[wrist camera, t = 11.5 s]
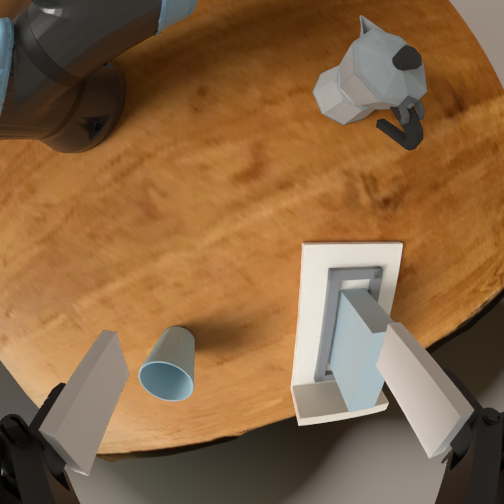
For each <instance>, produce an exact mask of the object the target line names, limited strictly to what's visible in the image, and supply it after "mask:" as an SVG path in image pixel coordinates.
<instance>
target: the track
mask: <svg viewBox="0 0 504 504" xmlns="http://www.w3.org/2000/svg"><path fill="white" fill-rule="evenodd" d="M402 247H403V243H401V242H302V260H301V278H300V293H299V307H298V320H297V331H296V342H295V353H294V363H293V372H292V381H291V393H292V397H293V402H294V407H295V411H296V416H297V421H298V425H299V426H300V425H309V424H316V423H323V422H330V421H336V420H342V419H347V418H352V417H357V416H362V415H366V414H371V413H375V412H379V411H383V410H386V408H387V406H388V403H389V402H388V400H387V399H386V397H385V395H384V393H383V392H382V390H381V391H380V394H379V396H378V399H377V401H376V404H375V406H374V407H373V408H369V409H364V410H359V411H354V412H349V411H348V408H347V406H346V404H345V401H344V399H343V396H342V394H341V391H340V389H339V386H338V384H337V382H336V379H335V377H334V374H333V372H332V370H331V367H330V365H329V357H330V352H331V346H332V341H333V335H334V329H335V323H336V316H337V309H338V302H339V295H340V290H344V289H360V288H364V289H365V290H366V291H367V292H368V293H369V294H370V295H371V296H372V297H373V298H374V300H375V301H376V302H377V303H378V304H379V305H380V306H381V307H382V308H383V309H384V311H385V312H386V313H387V314H388V315H389V316H390V313H391V308H392V304H393V299H394V294H395V289H396V284H397V279H398V273H399V267H400V261H401V254H402Z"/></svg>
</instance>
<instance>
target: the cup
mask: <svg viewBox="0 0 504 504" xmlns="http://www.w3.org/2000/svg"><path fill="white" fill-rule="evenodd" d="M194 359H195V339H194V337H193V335H192V334H191V332H189V331H188V330H187V329H185V328H182V327H178V326H174V327H170V328H168V329H166V330H165V331H164V333H163V334H162V336H161V337H160V339H159V340H158V342H157V343H156V345H155V347H154V348H153V350H152V351H151V353H150V354H149V356H148V358H147V359H146V360H145V362H144V364H143V365H142V367H141V368H140V370H139V380H140V383H141V385H142V386H143V387H144V389H145V390H146V391H147V392H149V393H150V394H152V395H153V396H155V397H157V398H160V399H162V400H167V401H180V400H184V399H186V398H188V397H189V396H190V395H191V394H192V392H193V390H194Z"/></svg>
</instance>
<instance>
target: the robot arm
mask: <svg viewBox="0 0 504 504" xmlns="http://www.w3.org/2000/svg"><path fill="white" fill-rule="evenodd" d="M31 1H32V3H31V4H30V5H29V6H28V7H27V8H26V9H25V10H24V11H23V12H22V13H20V14H19V16H17V18H15V19H14V20H13V21H11V19H9V18H0V140H2V139H38V140H40V141H41V142H43V143H44V144H46V145H47V146H49V147H50V148H52V149H53V150H55V151H58V152H62V153H80V152H84V151H87V150H89V149H91V148H93V147H95V146H96V145H98V144H99V143H100V142H101V141H102V140H104V139H105V138H106V137H107V135H108V134H109V133H110V132H111V131H112V129H113V128H114V126H115V125H116V123H117V121H118V119H119V117H120V115H121V112H122V109H123V106H124V101H125V82H124V79H123V76H122V74H121V72H120V70H119V69H118V68H117V67H116V66H115V65H114V64H112V63H111V62H110V61H111V60H112V59H114V58H115V57H117V56H119V55H120V54H122V53H123V52H125V51H127V50H128V49H130V48H132V47H133V46H135V45H137V44H139V43H140V42H142V41H144V40H146V39H148V38H149V37H151V36H153V35H154V36H156V35H158V34H160V33H161V32H162V30H164V29H165V28H167V27H169V26H171V25H173V24H175V23H177V22H179V21H181V20H183V19H185V18H186V17H188V16H189V15H190V14H191V13H192V12H193V11H194V9H195V7H196V5H197V1H198V0H31ZM376 367H377V368H378V370H379V371H380V373H381V375H382V376H383V378H384V380H385V381H386V383H387V385H388V386H389V388H390V390H391V391H392V393H393V395H394V396H395V398H396V400H397V401H398V403H399V405H400V407H401V408H402V410H403V412H404V414H405V415H406V417H407V419H408V421H409V422H410V424H411V426H412V428H413V430H414V431H415V433H416V435H417V437H418V438H419V440H420V442H421V444H422V446H423V448H424V449H425V451H426V453H427V455H428V457H429V458H432V457H434V456H436V455H438V454H440V453H442V452H444V450H445V449H446V448H447V447H448V446H449V444H450V445H451V447H452V449H451V451H450V452H449V453H448V454H447V455H446V456H445V458H444V459H443V460H442V462H441V463H444V462H445V461H446V460H447V459H448V461H447V463H446V464H447V465H446V469H445V473H444V476H443V480H442V483H441V486H440V490H439V493H438V496H437V499H436V502H435V504H504V412H502V413H499V412H498V411H497V410H495V409H493V408H484V409H483V408H482V406H481V405H480V404H479V403H478V401H477V400H476V399H475V398H474V396H473V395H472V394H471V393H470V391H469V390H468V389H467V388H465V385H464V384H463V383H462V382H460V380H459V378H458V377H457V376H456V375H455V374H454V373H453V372H451V371H450V370H448V369H447V368H444V369H441V368H440V367H439V365H438V364H437V363H436V362H435V361H434V359H433V358H432V357H431V356H430V355H429V354H428V352H427V351H426V350H425V349H424V348H423V347H422V345H421V344H420V343H419V342H418V341H417V340H416V339H415V338H414V336H413V335H412V334H411V333H410V332H409V331H408V330H407V329H406V328H405V326H404V325H403V324H402V323H401V322H396V323H389V324H388V326H387V330H386V334H385V337H384V341H383V345H382V348H381V352H380V355H379V358H378V362H377V365H376ZM128 377H129V371H128V368H127V365H126V362H125V359H124V356H123V352H122V349H121V346H120V342H119V339H118V335H117V332H116V331H106V330H103V331H102V333H101V334H100V335H99V337H98V338H97V340H96V341H95V342H94V344H93V345H92V347H91V348H90V349H89V351H88V352H87V354H86V355H85V357H84V358H83V360H82V361H81V363H80V364H79V366H78V367H77V369H76V370H75V372H74V373H73V375H72V376H71V378H70V379H69V381H68V382H67V384H65V383H60V384H59V385H57V386H56V387H55V388H53V389H52V391H51V392H50V394H49V395H48V398H47V399H46V400H45V402H44V403H43V405H42V406H41V408H40V409H39V411H38V413H37V415H36V416H35V417H34V419H33V421H32V422H31V424H30V426H29V427H28V425H27V424H26V423H25V421H24V420H23V419H22V418H21V417H20V416H19V415H16V414H9V415H7V416H5V417H4V418H2V419H1V421H0V433H1V434H0V504H80V502H79V500H78V498H77V496H76V494H75V492H74V489H73V487H72V484H71V482H70V480H69V477H68V475H67V473H66V471H65V469H64V467H65V464H67V465H68V466H69V467H70V468H71V469H72V470H73V471H76V472H79V473H82V474H84V475H89V472H90V470H91V467H92V464H93V461H94V459H95V456H96V453H97V451H98V448H99V446H100V443H101V440H102V438H103V435H104V433H105V430H106V428H107V425H108V423H109V421H110V418H111V416H112V413H113V411H114V409H115V406H116V404H117V402H118V399H119V397H120V395H121V392H122V390H123V388H124V386H125V383H126V381H127V379H128ZM1 469H2V470H3V474H2V475H1Z"/></svg>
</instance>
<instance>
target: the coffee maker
mask: <svg viewBox="0 0 504 504" xmlns="http://www.w3.org/2000/svg"><path fill="white" fill-rule="evenodd" d="M360 21H361V32H360V38H358V39H357V40H355V41H354V42H353V43H352V44H351V46H350V48H349V49H348V51H347V53H346V55H345V56H344V58H343V60H342V61H341V63H340V65H338V66H336V67H334V68H332V69H330V70H327V71H325V72H323V73H321V74H320V76H319V78H318V80H317V83H316V85H315V87H314V90H313V92H312V93H313V95H314V98H315V100H316V102H317V104H318V106H319V109H320V111H321V113H322V115H324V116H326V117H328V118H330V119H332V120H334V121H336V122H338V123H340V124H342V125H346V124H349V123H352V122H356V121H359V120H362V119H364V118H365V117H366V116H368V115H369V114H370V113H371V112H373V111H374V110H375V109H377V110H384V109H391V110H392V112H393V113H394V115H395V116H396V118H397V120H398V121H399V123H400V125H401V126H402V128H403V130H404V132H405V133H404V132H403V131H401V130H400V129H398V128H397V127H396V126H394V125H393V124H391V123H390V122H388V121H386V120H385V119H379V120H377V124H376V127H377V128H379V129H380V130H381V131H383V132H384V133H385V134H387V135H388V136H389V137H391V138H392V139H393V140H395V141H396V142H397V143H399V144H400V145H401V146H402V147H404V148H405V149H407V150H409V151H410V150H413V149H416V147H417V146H418V145H419V144H420V142H421V141H422V140H423V129H422V126H421V123H420V121H419V120H422V119H424V113H425V111H424V109H423V106H422V103H421V101H419V99H420V98H421V97H422V96H423V95H424V94H425V93H426V92H427V86H426V78H425V70H424V63H423V62H422V60H421V55H420V54H419V53H418V52H417V51H416V49H415V48H414V47H411V46H409V45H408V44H407V43H406V42H405V40H404V39H403V38H402V37H399V36H396V35H393V34H390V33H387V32H384V31H383V30H382V29H380V28H379V27H378V26H376V25H375V24H373V23H372V22H371V21H369V20H368V19H366V18H365V17H363V16H360ZM414 104H415V106H416V109H417V112H418V114H417V113H416V111H415V108H414V106H413V105H414Z"/></svg>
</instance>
